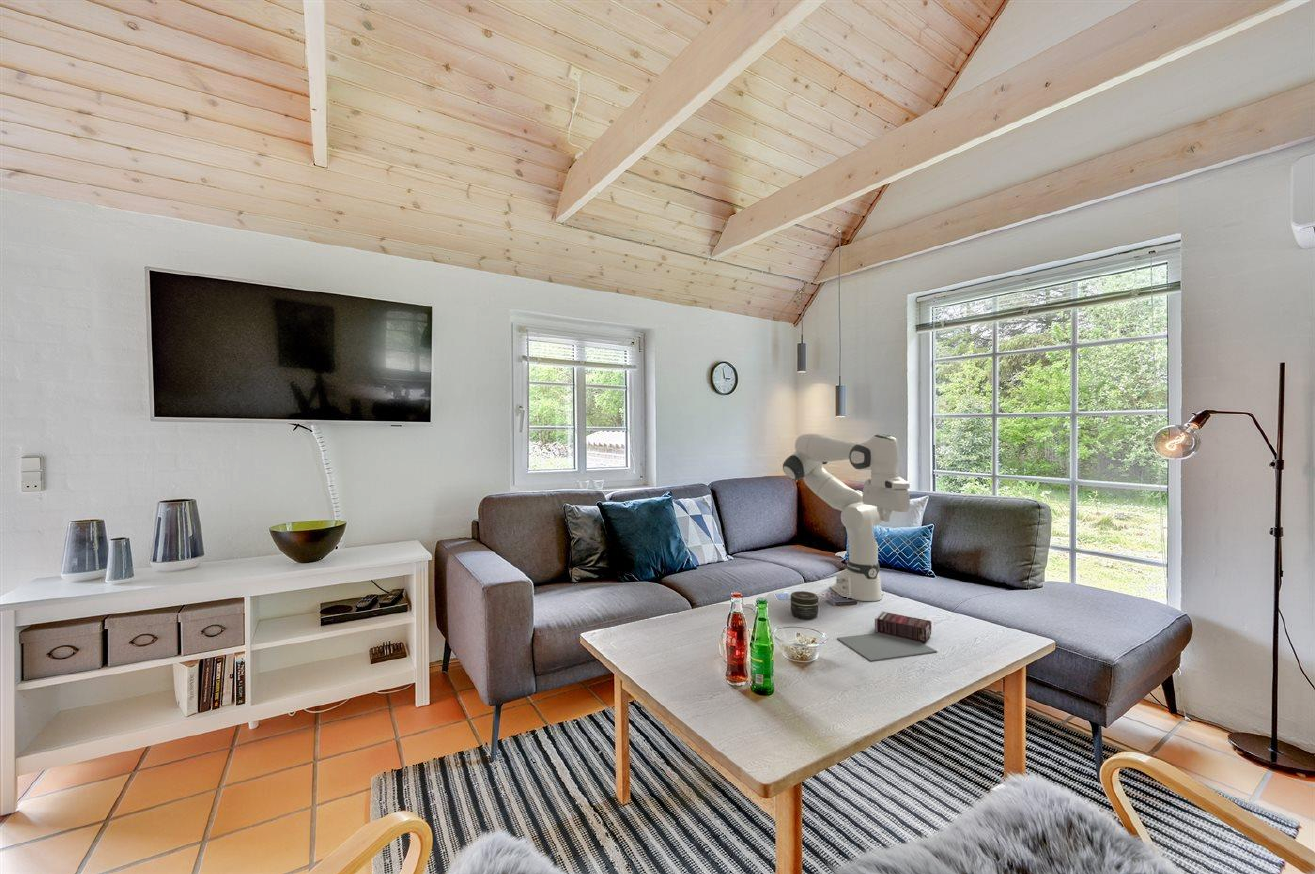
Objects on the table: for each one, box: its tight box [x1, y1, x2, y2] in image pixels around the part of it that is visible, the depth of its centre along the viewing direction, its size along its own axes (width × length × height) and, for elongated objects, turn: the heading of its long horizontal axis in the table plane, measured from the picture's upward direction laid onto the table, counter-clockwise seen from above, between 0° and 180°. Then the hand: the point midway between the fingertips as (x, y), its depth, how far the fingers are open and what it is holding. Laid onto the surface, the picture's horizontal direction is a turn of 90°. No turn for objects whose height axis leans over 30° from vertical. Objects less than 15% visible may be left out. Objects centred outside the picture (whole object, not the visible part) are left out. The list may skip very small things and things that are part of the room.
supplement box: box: [874, 611, 932, 643], centre depth 176 cm, size 9×5×16 cm
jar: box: [790, 590, 819, 621], centre depth 194 cm, size 10×10×8 cm
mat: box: [836, 632, 938, 662], centre depth 167 cm, size 17×24×1 cm
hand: (884, 520), depth 182 cm, fingers closed
